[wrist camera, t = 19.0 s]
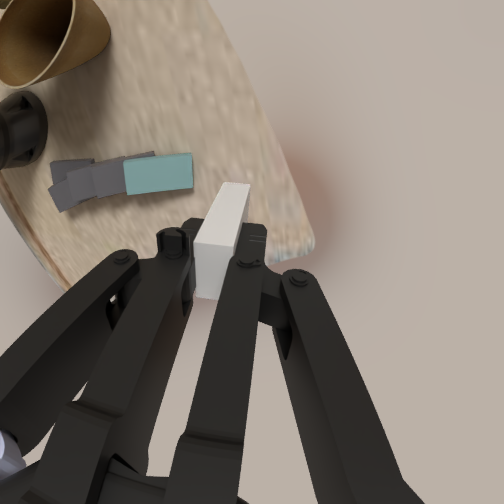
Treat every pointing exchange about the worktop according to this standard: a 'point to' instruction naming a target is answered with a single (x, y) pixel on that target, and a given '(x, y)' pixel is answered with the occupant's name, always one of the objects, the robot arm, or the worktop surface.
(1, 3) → the cork
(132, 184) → the domino
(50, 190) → the domino
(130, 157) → the domino
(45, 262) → the worktop surface
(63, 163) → the domino
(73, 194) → the domino
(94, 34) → the plant pot
